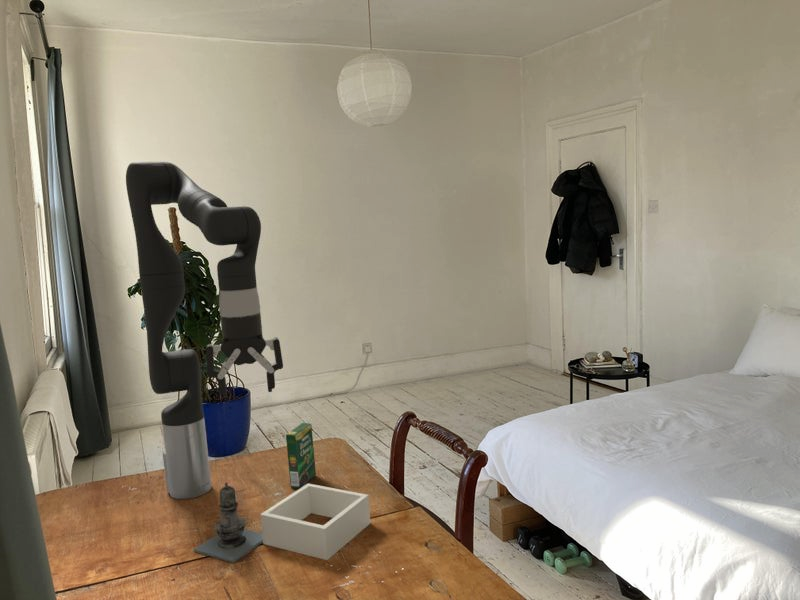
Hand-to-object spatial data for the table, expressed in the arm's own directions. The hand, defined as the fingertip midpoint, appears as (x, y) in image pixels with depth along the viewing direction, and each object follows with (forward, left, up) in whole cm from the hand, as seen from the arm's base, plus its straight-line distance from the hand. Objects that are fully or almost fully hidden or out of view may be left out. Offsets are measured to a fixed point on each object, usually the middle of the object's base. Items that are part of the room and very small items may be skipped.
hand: (247, 393), depth 126 cm
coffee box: (-6, +22, -28) cm, 36 cm away
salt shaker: (-1, -7, -28) cm, 29 cm away
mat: (-1, -7, -28) cm, 29 cm away
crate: (+12, +3, -28) cm, 31 cm away
